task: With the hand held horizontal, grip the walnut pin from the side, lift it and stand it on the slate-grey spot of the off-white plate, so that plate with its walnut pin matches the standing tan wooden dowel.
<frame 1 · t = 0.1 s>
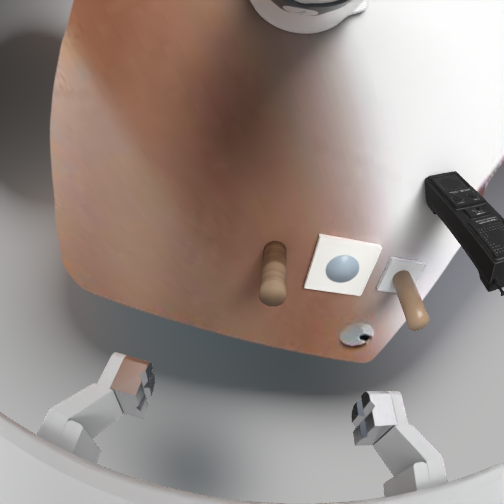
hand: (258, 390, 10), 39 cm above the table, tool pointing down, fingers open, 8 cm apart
tan wooden dowel: (400, 274, 54), on the table
walnut pin: (275, 250, 54), on the table
portable radio: (443, 186, 43), on the table
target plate: (341, 265, 54), on the table
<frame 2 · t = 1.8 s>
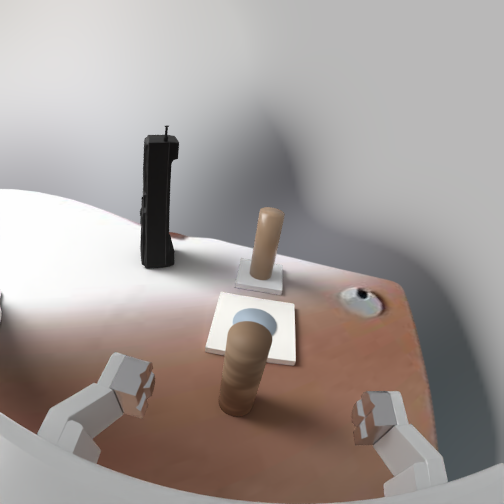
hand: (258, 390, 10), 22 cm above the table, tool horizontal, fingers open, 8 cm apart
tan wooden dowel: (259, 277, 54), on the table
walnut pin: (235, 402, 32), on the table
portable radio: (156, 257, 55), on the table
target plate: (253, 328, 43), on the table
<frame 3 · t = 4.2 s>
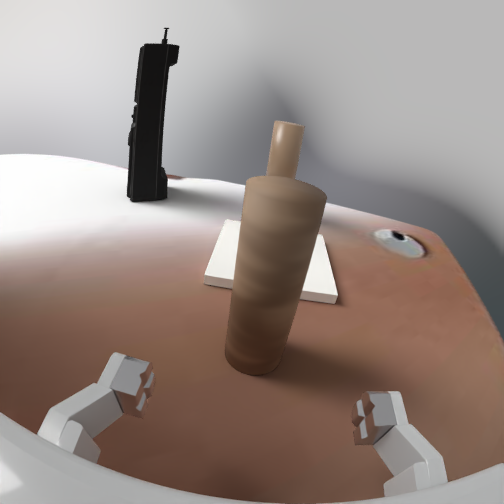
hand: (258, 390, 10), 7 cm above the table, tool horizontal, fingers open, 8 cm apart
tan wooden dowel: (274, 212, 43), on the table
walnut pin: (253, 352, 20), on the table
portable radio: (145, 193, 44), on the table
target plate: (272, 259, 32), on the table
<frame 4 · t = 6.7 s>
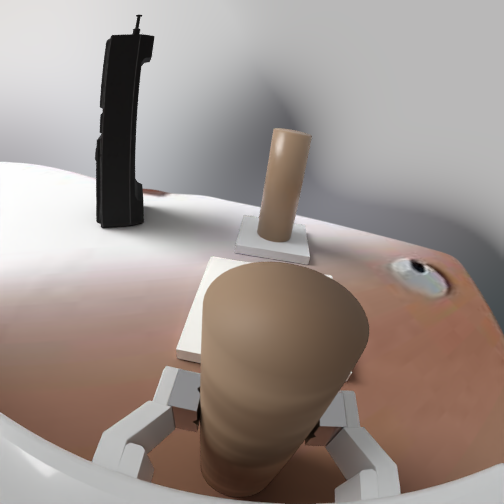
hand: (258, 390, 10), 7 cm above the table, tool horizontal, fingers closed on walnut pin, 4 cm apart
tan wooden dowel: (272, 241, 35), on the table
walnut pin: (237, 465, 13), on the table, touching gripper
portable radio: (120, 215, 36), on the table
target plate: (268, 315, 24), on the table
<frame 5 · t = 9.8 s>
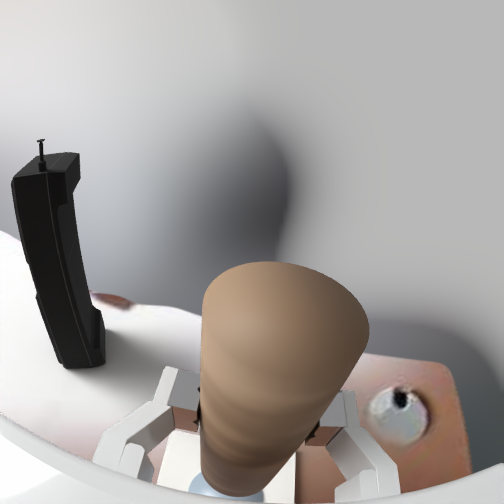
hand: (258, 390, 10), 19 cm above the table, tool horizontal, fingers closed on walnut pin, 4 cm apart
walnut pin: (237, 465, 13), point 12 cm above the table, touching gripper
portable radio: (83, 345, 31), on the table
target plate: (224, 498, 19), on the table
when the fingers open (9 cm above the table, at t = 12.8 s): walnut pin drops 1 cm, resting on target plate.
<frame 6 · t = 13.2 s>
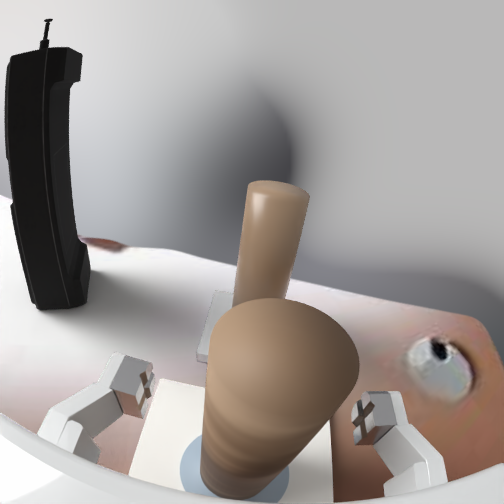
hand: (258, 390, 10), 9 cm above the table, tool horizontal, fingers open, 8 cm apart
tan wooden dowel: (251, 334, 25), on the table
walnut pin: (234, 471, 14), point 1 cm above the table, touching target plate
portable radio: (63, 286, 26), on the table
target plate: (233, 475, 14), on the table
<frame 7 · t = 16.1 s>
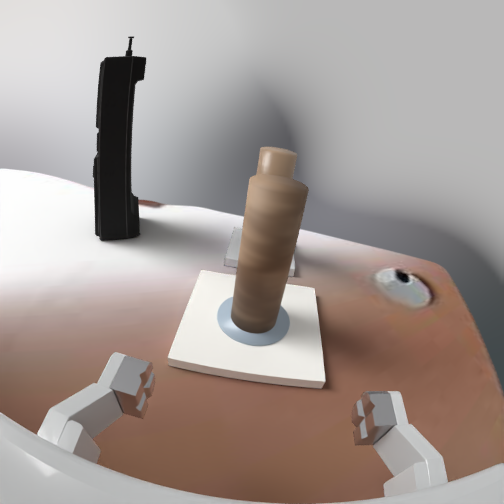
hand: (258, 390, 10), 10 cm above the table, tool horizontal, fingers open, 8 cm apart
tan wooden dowel: (260, 253, 37), on the table
walnut pin: (253, 317, 26), point 1 cm above the table, touching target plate
portable radio: (118, 227, 38), on the table
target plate: (252, 326, 26), on the table
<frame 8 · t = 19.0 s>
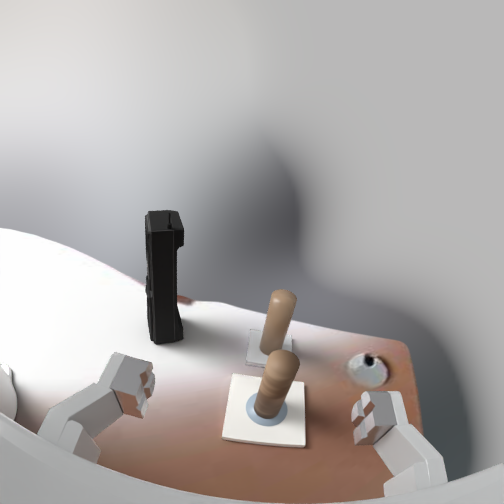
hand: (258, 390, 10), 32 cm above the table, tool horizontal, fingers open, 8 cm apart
tan wooden dowel: (269, 351, 52), on the table
walnut pin: (266, 408, 40), point 1 cm above the table, touching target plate
portable radio: (164, 328, 53), on the table
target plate: (265, 411, 41), on the table
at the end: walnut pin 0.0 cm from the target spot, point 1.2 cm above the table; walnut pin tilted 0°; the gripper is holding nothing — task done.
